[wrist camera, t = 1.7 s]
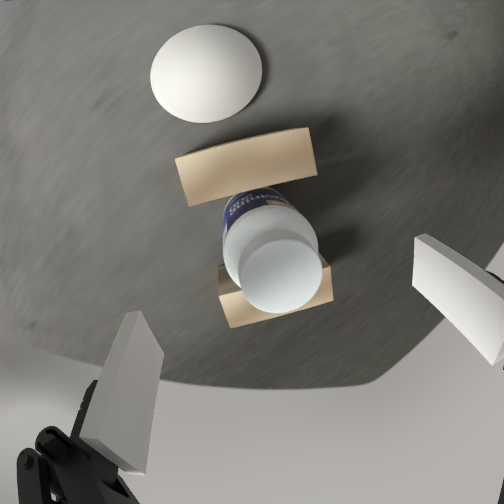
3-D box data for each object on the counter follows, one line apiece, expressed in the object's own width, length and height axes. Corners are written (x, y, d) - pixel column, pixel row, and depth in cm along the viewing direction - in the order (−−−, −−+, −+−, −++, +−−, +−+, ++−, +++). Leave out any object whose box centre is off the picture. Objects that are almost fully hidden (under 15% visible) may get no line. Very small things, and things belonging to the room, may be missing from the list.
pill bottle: (288, 180, 21) (338, 217, 12) (291, 244, 23) (334, 314, 14) (217, 188, 20) (215, 232, 11) (226, 253, 22) (232, 331, 14)
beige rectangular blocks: (184, 154, 19) (175, 159, 15) (289, 128, 19) (308, 127, 15) (228, 295, 24) (230, 328, 20) (315, 272, 24) (333, 300, 20)
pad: (143, 45, 15) (141, 43, 14) (247, 18, 15) (248, 16, 14) (165, 136, 18) (164, 136, 18) (271, 109, 18) (273, 108, 18)
